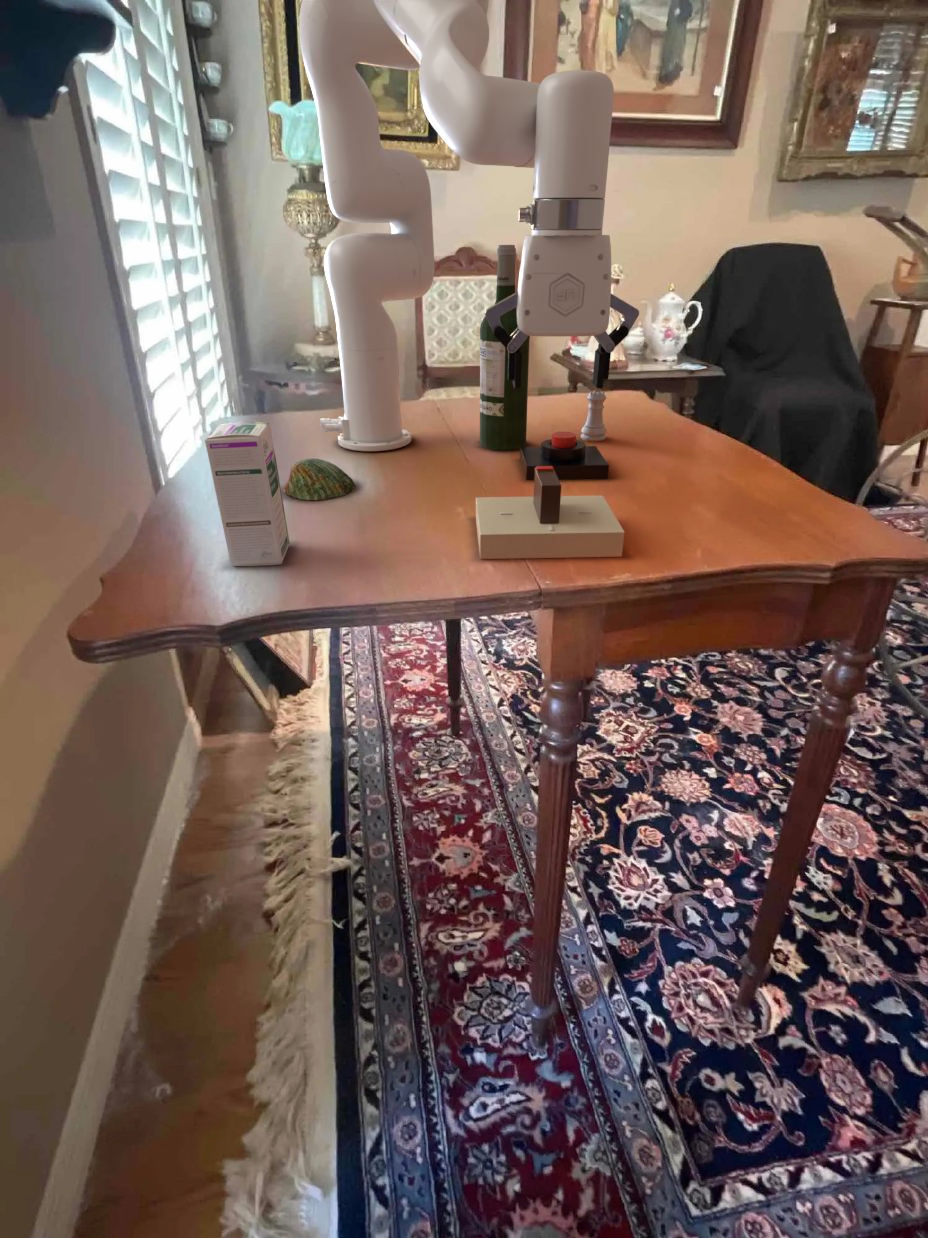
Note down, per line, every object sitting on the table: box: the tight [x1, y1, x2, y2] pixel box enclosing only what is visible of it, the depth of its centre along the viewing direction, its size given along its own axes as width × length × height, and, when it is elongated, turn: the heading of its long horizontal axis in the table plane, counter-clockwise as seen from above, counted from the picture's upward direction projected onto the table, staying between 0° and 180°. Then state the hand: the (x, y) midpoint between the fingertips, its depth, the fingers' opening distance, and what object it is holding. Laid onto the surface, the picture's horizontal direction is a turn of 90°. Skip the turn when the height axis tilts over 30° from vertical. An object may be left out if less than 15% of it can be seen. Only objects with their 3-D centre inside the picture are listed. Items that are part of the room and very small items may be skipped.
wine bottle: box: [479, 244, 531, 452], centre depth 110 cm, size 8×8×30 cm
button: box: [551, 431, 577, 448], centre depth 103 cm, size 4×4×2 cm
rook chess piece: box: [580, 389, 607, 443], centre depth 118 cm, size 4×4×8 cm
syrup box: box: [204, 421, 290, 567], centre depth 75 cm, size 6×6×14 cm
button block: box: [519, 438, 610, 481], centre depth 104 cm, size 12×10×4 cm
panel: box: [475, 494, 625, 560], centre depth 82 cm, size 16×12×3 cm
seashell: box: [283, 458, 356, 501], centre depth 98 cm, size 10×4×10 cm
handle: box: [533, 466, 562, 523], centre depth 80 cm, size 6×2×5 cm, turn 2°
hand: (556, 386), depth 82 cm, fingers open, 9 cm apart
